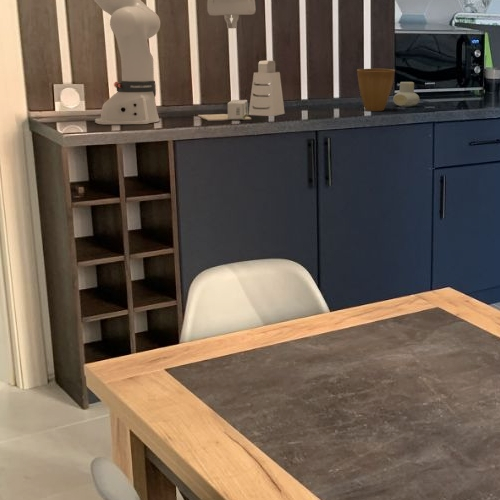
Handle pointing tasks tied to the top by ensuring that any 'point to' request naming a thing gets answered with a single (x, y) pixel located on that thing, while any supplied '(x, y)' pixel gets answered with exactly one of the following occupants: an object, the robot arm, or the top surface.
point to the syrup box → (237, 109)
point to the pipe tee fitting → (406, 95)
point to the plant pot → (375, 87)
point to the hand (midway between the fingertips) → (231, 28)
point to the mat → (219, 117)
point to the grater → (266, 91)
